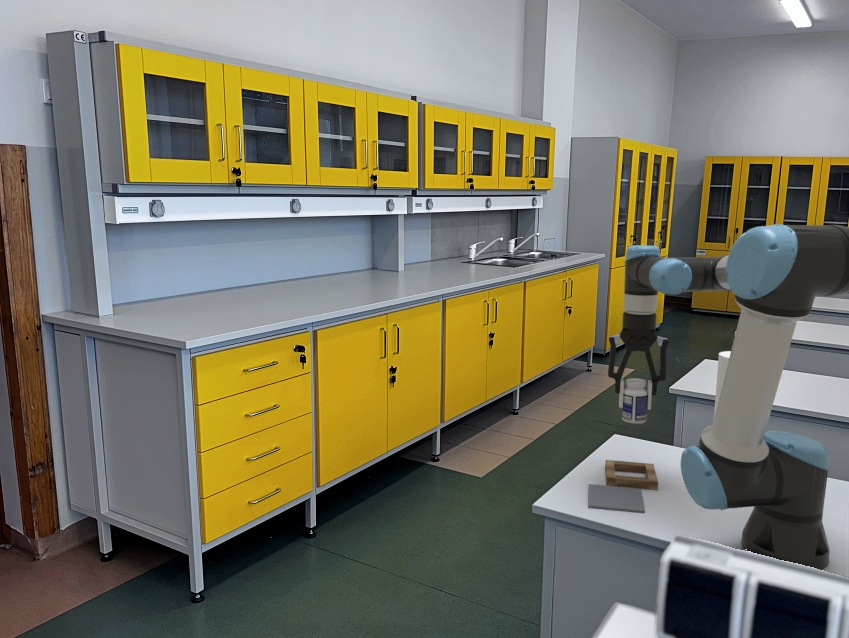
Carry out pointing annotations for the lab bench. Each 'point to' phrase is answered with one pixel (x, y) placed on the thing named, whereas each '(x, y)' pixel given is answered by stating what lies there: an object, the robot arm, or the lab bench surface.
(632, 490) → the rubber mat
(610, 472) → the wooden square frame
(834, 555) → the lab bench surface
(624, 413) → the pill bottle
